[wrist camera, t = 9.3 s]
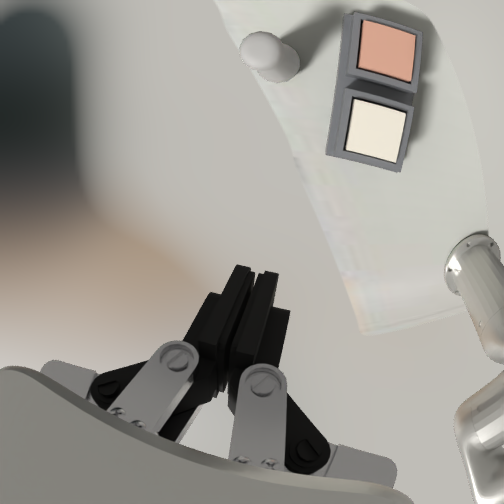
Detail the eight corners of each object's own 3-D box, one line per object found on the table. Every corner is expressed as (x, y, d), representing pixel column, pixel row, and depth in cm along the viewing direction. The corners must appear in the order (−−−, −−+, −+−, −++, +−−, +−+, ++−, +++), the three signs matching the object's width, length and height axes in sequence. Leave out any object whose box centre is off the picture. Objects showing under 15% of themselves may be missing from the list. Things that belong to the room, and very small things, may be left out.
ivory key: (389, 156, 30) (395, 162, 27) (344, 145, 31) (346, 149, 28) (398, 112, 27) (405, 113, 24) (351, 99, 28) (354, 99, 25)
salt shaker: (295, 42, 29) (282, 16, 18) (305, 79, 32) (298, 69, 21) (254, 51, 31) (222, 32, 20) (264, 87, 33) (236, 83, 23)
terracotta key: (402, 82, 25) (411, 81, 22) (355, 69, 26) (359, 66, 23) (407, 40, 22) (415, 35, 19) (360, 27, 23) (364, 20, 20)
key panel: (392, 167, 35) (405, 181, 29) (325, 150, 36) (326, 161, 30) (413, 38, 24) (429, 29, 18) (342, 19, 25) (346, 4, 19)
